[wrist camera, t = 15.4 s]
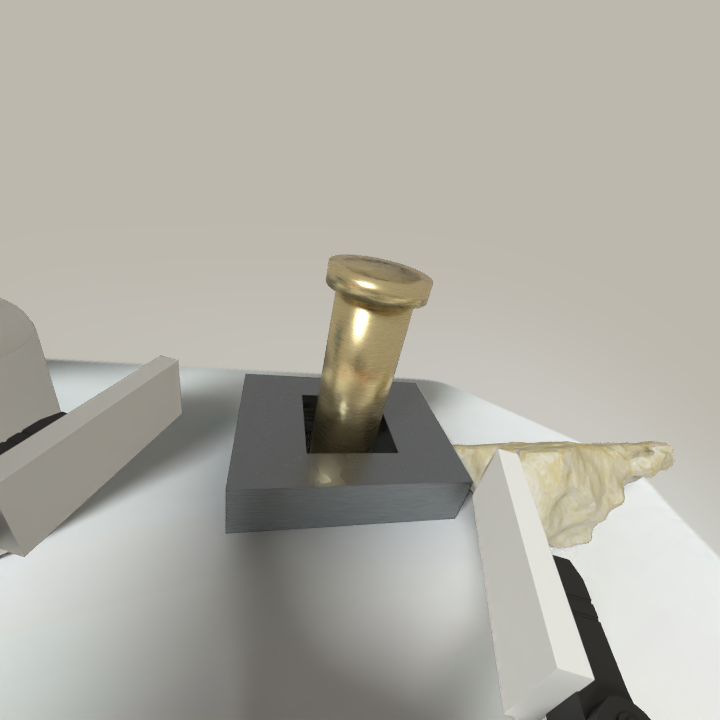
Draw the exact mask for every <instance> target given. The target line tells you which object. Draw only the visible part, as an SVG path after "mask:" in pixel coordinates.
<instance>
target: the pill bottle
mask: <svg viewBox="0 0 720 720" xmlns="http://www.w3.org/2000/svg"><path fill="white" fill-rule="evenodd" d="M59 412H61V410H60V407H59V403H58V400H57V397H56V394H55V390H54V387H53V384H52V380H51V377H50V374H49V371H48V367H47V364H46V361H45V357H44V354H43V351H42V348H41V345H40V341H39V338H38V335H37V332H36V329H35V326H34V324H33V323H32V322H31V320H30V319H29V318H28V316H27V315H26V314H25V313H24V312H23V311H22V310H21V309H19V308H18V307H17V306H15V305H14V304H12V303H10V302H8V301H6V300H3V299H1V298H0V443H1V442H6V440H7V439H8V438H10V437H11V436H13V435H15V434H16V433H18V432H19V433H21V432H22V430H23V429H25V428H27V427H28V426H30V425H32V424H33V423H35V422H37V421H38V420H40V419H43V418H45V417H48V416H51V415H54V414H56V413H59ZM7 552H8V551H5V550H2V549H0V555H2V554H4V553H7Z"/></svg>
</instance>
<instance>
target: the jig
mask: <svg viewBox="0 0 720 720" xmlns="http://www.w3.org/2000/svg"><path fill="white" fill-rule="evenodd" d="M320 383H321V378H310V377H292V376H274V375H256V374H246V375H245V381H244V386H243V392H242V398H241V404H240V409H239V415H238V421H237V427H236V433H235V438H234V444H233V450H232V456H231V462H230V467H229V473H228V479H227V485H226V533H238V532H254V531H269V530H285V529H300V528H315V527H331V526H346V525H362V524H377V523H393V522H408V521H424V520H439V519H455V517H456V515H457V513H458V511H459V509H460V507H461V505H462V503H463V501H464V499H465V497H466V495H467V494H468V492H469V490H470V488H471V486H472V484H473V480H472V478H471V477H470V475H469V473H468V472H467V470H466V468H465V467H464V465H463V463H462V461H461V460H460V458H459V456H458V455H457V453H456V451H455V450H454V448H453V446H452V444H451V443H450V441H449V439H448V438H447V436H446V434H445V433H444V431H443V429H442V428H441V426H440V424H439V422H438V421H437V419H436V417H435V416H434V414H433V412H432V411H431V409H430V407H429V406H428V404H427V402H426V400H425V399H424V397H423V395H422V394H421V392H420V390H419V389H418V387H417V385H416V383H401V382H392V384H391V388H390V391H389V395H388V398H387V402H386V405H385V408H384V412H383V415H382V419H381V422H380V426H379V429H378V433H377V436H376V440H375V443H374V447H373V450H374V453H332V454H307V452H306V439H305V431H313V425H314V419H315V413H316V407H317V401H318V395H319V389H320Z"/></svg>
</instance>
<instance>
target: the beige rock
mask: <svg viewBox="0 0 720 720" xmlns="http://www.w3.org/2000/svg"><path fill="white" fill-rule="evenodd" d="M452 446H453V448H454V450H455V451H456V453H457V455H458V456H459V458H460V460H461V461H462V463H463V465H464V467H465V468H466V470H467V472H468V473H469V475H470V477H471V478H472V480H473V484H472V486H471V488H470V490H471V491H472V492H473V493H474V492H475V490H476V488H477V486H478V485H479V483H480V481H481V479H482V477H483V475H484V473H485V472H486V470H487V468H488V466H489V464H490V462H491V461H492V459H493V457H494V455H495V453H496V451H497V449H501V450H505V451H508V452H512V453H515V454H518V456H519V459H520V462H521V465H522V468H523V471H524V474H525V476H526V479H527V482H528V485H529V488H530V491H531V494H532V497H533V500H534V503H535V506H536V509H537V512H538V515H539V518H540V520H541V523H542V526H543V529H544V532H545V535H546V538H547V541H548V544H549V545H552V546H555V547H557V548H564V547H573V546H574V545H577V544H586V543H589V542H590V541H591V539H592V531H593V528H594V527H595V526H596V525H597V524H598V523H600V522H602V521H604V520H605V519H606V517H607V515H608V513H609V512H610V511H611V510H613V509H614V508H616V507H618V506H620V505H622V503H623V502H624V499H625V496H624V487H623V486H625V485H626V484H627V483H630V482H634V481H636V480H638V479H640V478H642V477H648V478H652V477H653V476H654V475H655V474H656V473H657V472H658V471H660V470H668V469H669V468H670V467H671V466H672V465H673V462H674V461H675V459H674V457H673V456H672V453H673V448H672V447H671V446H670V445H668V444H666V443H661V442H652V441H648V442H641V443H592V444H579V443H574V442H539V443H523V442H510V443H498V444H483V445H452Z"/></svg>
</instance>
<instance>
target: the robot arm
mask: <svg viewBox="0 0 720 720" xmlns="http://www.w3.org/2000/svg"><path fill="white" fill-rule="evenodd" d="M181 414H182V404H181V391H180V378H179V365H178V360H175V359H171V358H168V357H164V356H159V357H158V358H156V359H154V360H153V361H151V362H150V363H148V364H146V365H145V366H143V367H142V368H140V369H138V370H137V371H135V372H134V373H132V374H130V375H129V376H127V377H125V378H124V379H122V380H121V381H119V382H117V383H116V384H114V385H113V386H111V387H109V388H108V389H106V390H105V391H103V392H101V393H100V394H98V395H97V396H95V397H93V398H92V399H90V400H88V401H87V402H85V403H84V404H82V405H80V406H79V407H77V408H76V409H74V410H72V411H71V412H69V413H65V412H59V413H56V414H54V415H51V416H48V417H45V418H43V419H40V420H38V421H37V422H35V423H33V424H32V425H30V426H28V427H27V428H25V429H23V430H22V432H21V433H19V432H18V433H16V434H15V435H13V436H11V437H10V438H8V439H7V440H6V442H1V443H0V549H2V550H5V551H8V552H11V553H14V554H17V555H20V556H23V557H25V556H26V555H27V554H28V553H29V552H30V551H32V550H33V549H34V548H35V547H36V546H37V545H38V544H39V543H40V542H41V541H43V540H44V539H45V538H46V537H47V536H48V535H49V534H50V533H51V532H52V531H53V530H55V529H56V528H57V527H58V526H59V525H60V524H61V523H62V522H63V521H64V520H66V519H67V518H68V517H69V516H70V515H71V514H72V513H73V512H74V511H75V510H77V509H78V508H79V507H80V506H81V505H82V504H83V503H84V502H85V501H86V500H88V499H89V498H90V497H91V496H92V495H93V494H94V493H95V492H96V491H97V490H99V489H100V488H101V487H102V486H103V485H104V484H105V483H106V482H107V481H108V480H109V479H111V478H112V477H113V476H114V475H115V474H116V473H117V472H118V471H119V470H120V469H122V468H123V467H124V466H125V465H126V464H127V463H128V462H129V461H130V460H131V459H133V458H134V457H135V456H136V455H137V454H138V453H139V452H140V451H141V450H142V449H144V448H145V447H146V446H147V445H148V444H149V443H150V442H151V441H152V440H153V439H154V438H156V437H157V436H158V435H159V434H160V433H161V432H162V431H163V430H164V429H165V428H167V427H168V426H169V425H170V424H171V423H172V422H173V421H174V420H175V419H176V418H178V417H179V416H180V415H181ZM472 499H473V506H474V513H475V520H476V527H477V534H478V540H479V547H480V554H481V561H482V568H483V575H484V582H485V589H486V596H487V603H488V610H489V616H490V623H491V630H492V637H493V644H494V651H495V658H496V665H497V672H498V679H499V686H500V693H501V699H502V706H503V713H504V715H508V716H511V717H514V718H517V719H520V720H541V719H543V718H544V717H545V716H546V717H547V720H651V719H650V718H649V717H648V716H647V715H646V714H645V712H643V711H642V710H641V709H640V708H639V707H637V706H636V705H635V704H634V703H633V701H632V699H631V697H630V695H629V693H628V691H627V688H626V686H625V683H624V681H623V678H622V676H621V673H620V671H619V668H618V666H617V663H616V661H615V658H614V656H613V653H612V651H611V648H610V646H609V643H608V641H607V638H606V636H605V633H604V631H603V628H602V626H601V623H600V622H598V616H597V613H596V611H595V608H594V606H593V604H591V598H590V596H589V593H588V591H587V588H586V586H585V583H584V581H583V579H582V577H581V576H580V574H579V573H578V572H577V570H576V569H575V567H574V566H573V565H572V563H571V562H570V560H568V559H564V558H561V557H558V556H554V555H552V553H551V550H550V547H549V544H548V541H547V538H546V535H545V532H544V529H543V526H542V523H541V520H540V518H539V515H538V512H537V509H536V506H535V503H534V500H533V497H532V494H531V491H530V488H529V485H528V482H527V479H526V476H525V474H524V471H523V468H522V465H521V462H520V459H519V456H518V454H515V453H512V452H508V451H505V450H501V449H497V451H496V453H495V455H494V457H493V459H492V461H491V462H490V464H489V466H488V468H487V470H486V472H485V473H484V475H483V477H482V479H481V481H480V483H479V485H478V486H477V488H476V490H475V492H474V494H473V496H472Z"/></svg>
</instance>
